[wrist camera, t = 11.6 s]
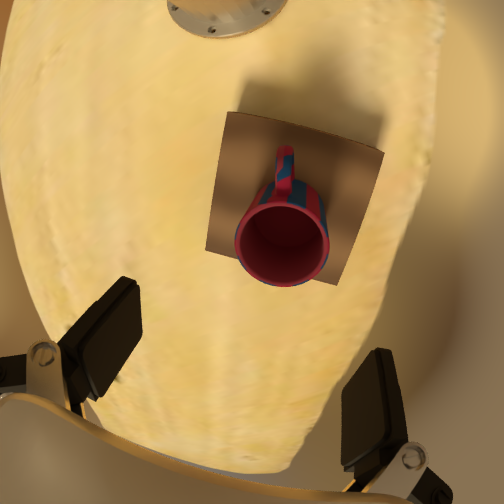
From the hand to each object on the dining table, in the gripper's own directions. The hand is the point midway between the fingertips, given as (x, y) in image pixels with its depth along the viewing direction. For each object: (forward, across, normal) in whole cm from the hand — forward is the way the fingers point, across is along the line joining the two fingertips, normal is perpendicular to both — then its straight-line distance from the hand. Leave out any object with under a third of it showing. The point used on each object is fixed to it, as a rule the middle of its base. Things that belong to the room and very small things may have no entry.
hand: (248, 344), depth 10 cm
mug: (+17, 0, -1) cm, 17 cm away
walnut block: (+21, 0, 0) cm, 21 cm away
